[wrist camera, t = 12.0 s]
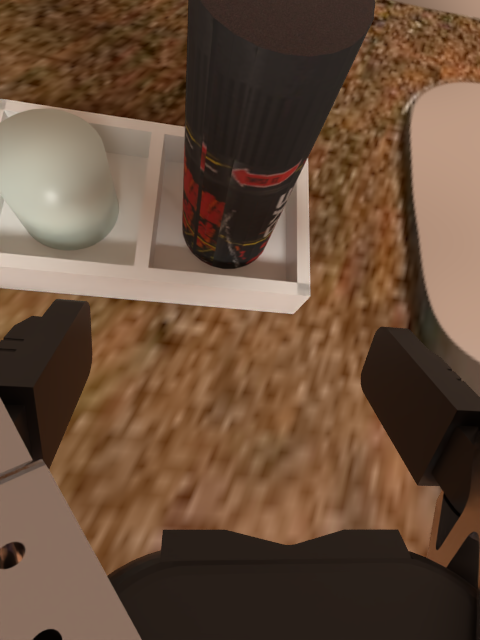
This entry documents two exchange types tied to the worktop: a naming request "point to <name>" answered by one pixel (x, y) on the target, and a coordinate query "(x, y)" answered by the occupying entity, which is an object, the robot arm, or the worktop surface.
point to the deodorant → (257, 112)
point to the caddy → (125, 216)
